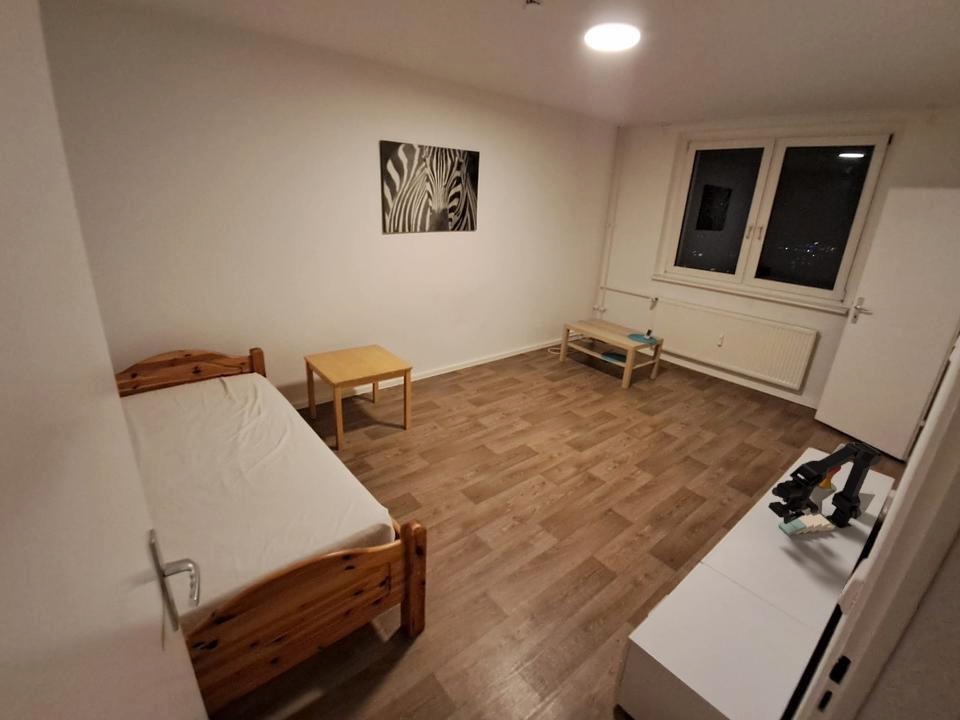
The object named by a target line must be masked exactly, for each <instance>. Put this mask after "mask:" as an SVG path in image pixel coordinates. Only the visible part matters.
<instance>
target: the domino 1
mask: <svg viewBox="0 0 960 720" xmlns="http://www.w3.org/2000/svg"><path fill="white" fill-rule="evenodd" d="M806 527H807V526H806V525H805V524H804V523H803V522H802V521H801V520H800V519H796V520H794V521H792V522H790V523H788V524H785V523H784V521H782V522H780V523H778V528H779V529H780V530H782V531H783V532H784V533H785V535H787V536H788V537H789V536H792V535H795V533H797V532H799V531H801V530H803V529H806Z"/></svg>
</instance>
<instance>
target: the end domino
mask: <svg viewBox="0 0 960 720" xmlns="http://www.w3.org/2000/svg"><path fill="white" fill-rule="evenodd" d="M824 518H825V517H824ZM825 519H826V520H827V521H829V519H828V518H827V517H826V518H825ZM835 528H836V525H835V524H834V523H833V522H830V526H827V527H825V528H822V529H820V530H817V531H816V532H818V533H819V532H827V531H831V530H835Z"/></svg>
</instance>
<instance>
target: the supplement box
mask: <svg viewBox="0 0 960 720" xmlns="http://www.w3.org/2000/svg"><path fill="white" fill-rule="evenodd" d="M858 496H859V498H860V501H861V504H860V507H859V508H860V510H861V512H862V514H861V515H860V516H859V517H860V518H861V517H862V518H863V516H864V515H865V513H866V512H867V510H868V509H869V507H870V504H871V503H872V501H873V500H874V498H875V496H876V494H875V492H873V491H872V489H870V488H869V487H868V486H867V484H865V483H863V485H862V487H861V490H860V492H859V494H858Z"/></svg>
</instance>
